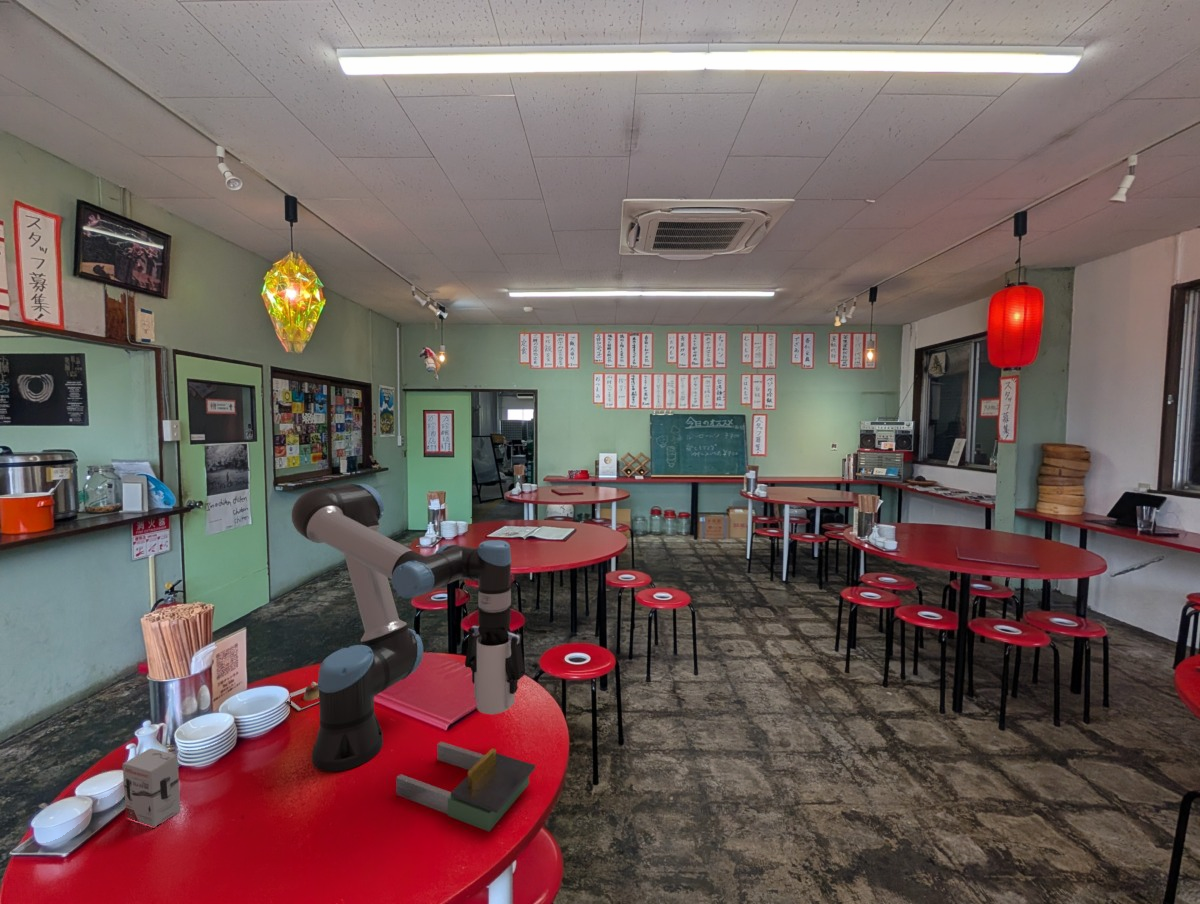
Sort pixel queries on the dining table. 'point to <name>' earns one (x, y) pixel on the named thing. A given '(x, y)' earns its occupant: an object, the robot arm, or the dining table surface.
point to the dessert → (307, 695)
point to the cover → (493, 781)
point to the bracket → (430, 793)
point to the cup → (491, 677)
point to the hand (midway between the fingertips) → (494, 701)
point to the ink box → (151, 787)
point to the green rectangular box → (480, 810)
